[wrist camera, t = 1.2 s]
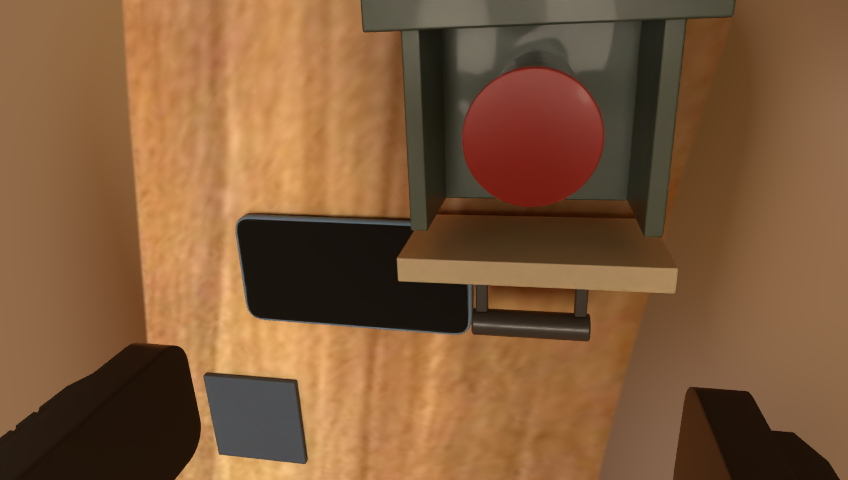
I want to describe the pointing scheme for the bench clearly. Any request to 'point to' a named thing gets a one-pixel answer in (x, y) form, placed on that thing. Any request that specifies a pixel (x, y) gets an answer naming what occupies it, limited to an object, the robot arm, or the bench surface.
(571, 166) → the spice tin
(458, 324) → the smartphone
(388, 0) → the cabinet
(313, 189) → the bench surface
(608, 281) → the drawer
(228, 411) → the mat
